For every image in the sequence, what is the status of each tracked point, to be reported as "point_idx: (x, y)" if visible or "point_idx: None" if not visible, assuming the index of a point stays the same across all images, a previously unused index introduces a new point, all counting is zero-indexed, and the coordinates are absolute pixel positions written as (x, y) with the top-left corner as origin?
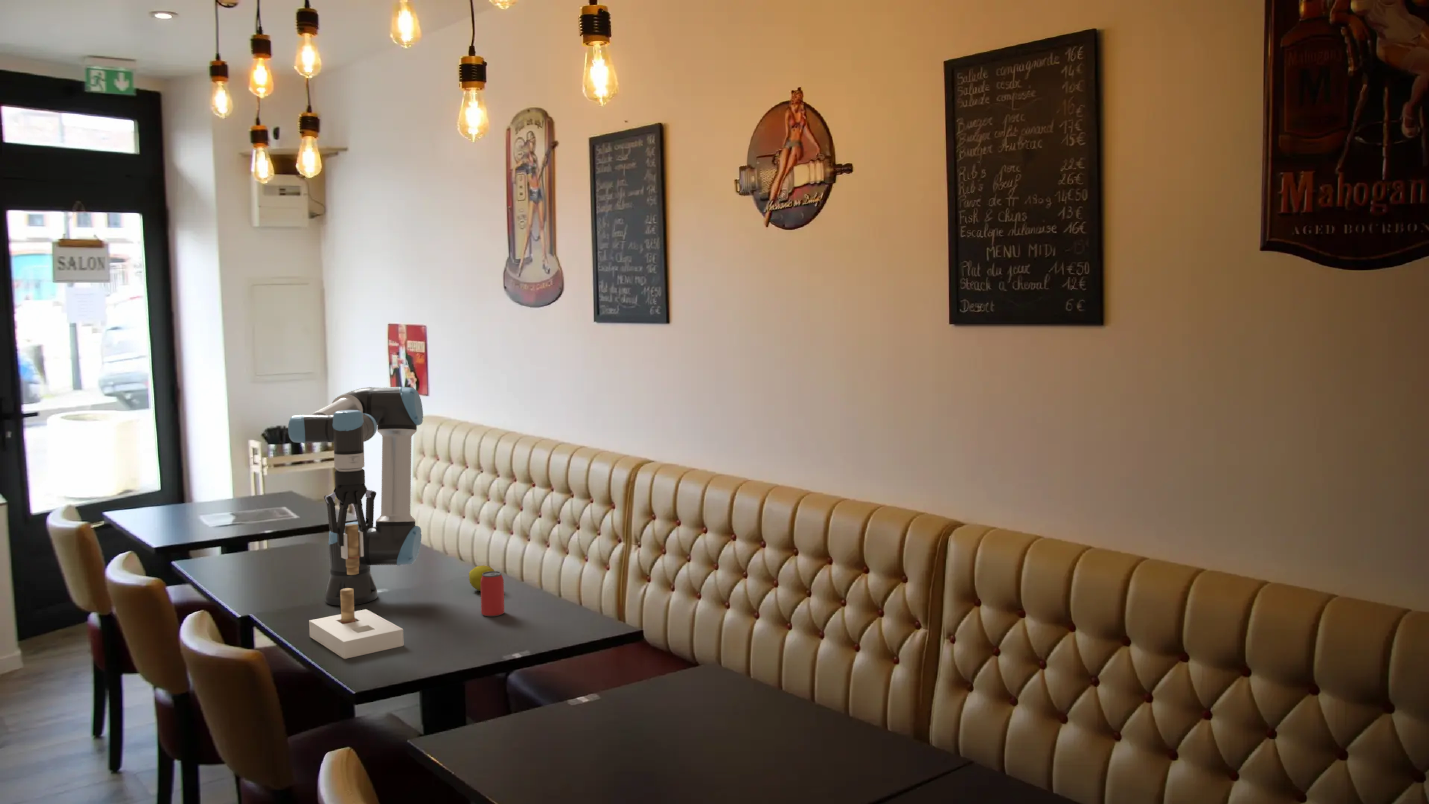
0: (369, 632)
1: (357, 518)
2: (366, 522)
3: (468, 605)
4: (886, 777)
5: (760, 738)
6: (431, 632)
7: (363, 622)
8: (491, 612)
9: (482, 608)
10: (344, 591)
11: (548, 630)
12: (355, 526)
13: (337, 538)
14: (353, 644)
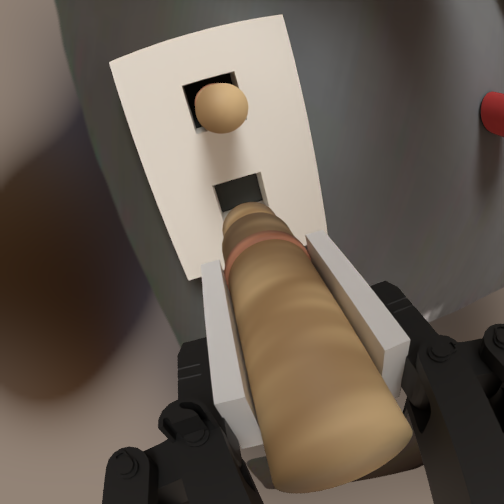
0: None
1: (452, 469)
2: (501, 375)
3: (476, 31)
4: (414, 464)
5: (414, 448)
6: (386, 158)
7: (253, 141)
8: (491, 131)
9: (489, 115)
10: (209, 130)
11: (496, 238)
12: (358, 473)
13: (181, 398)
14: None
